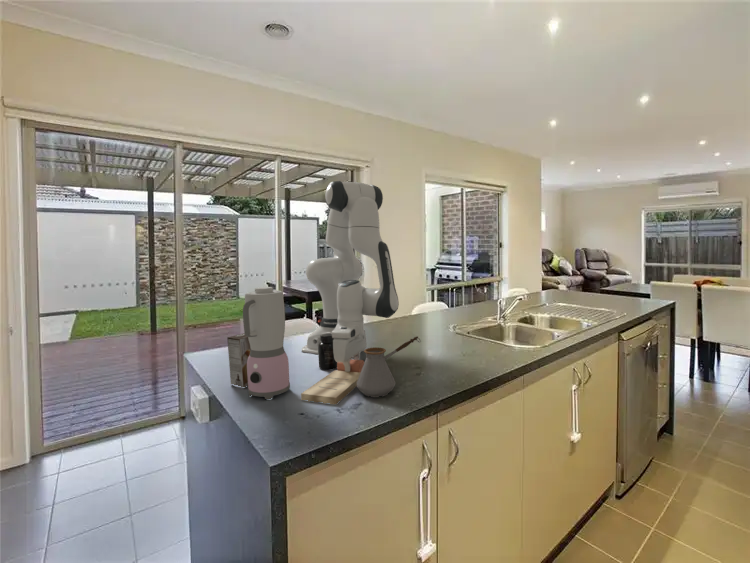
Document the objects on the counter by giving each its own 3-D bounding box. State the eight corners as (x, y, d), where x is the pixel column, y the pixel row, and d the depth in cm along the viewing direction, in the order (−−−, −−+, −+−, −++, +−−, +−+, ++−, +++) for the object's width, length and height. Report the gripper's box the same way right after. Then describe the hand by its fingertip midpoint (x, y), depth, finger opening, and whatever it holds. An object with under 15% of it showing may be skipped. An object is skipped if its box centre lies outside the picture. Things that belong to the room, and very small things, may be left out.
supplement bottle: (340, 365, 146) (339, 333, 144) (333, 371, 139) (331, 337, 138) (324, 364, 148) (322, 332, 147) (315, 369, 141) (314, 336, 140)
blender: (265, 384, 128) (260, 285, 125) (298, 387, 124) (293, 285, 121) (231, 402, 113) (224, 291, 110) (267, 407, 109) (260, 291, 106)
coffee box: (252, 377, 135) (249, 331, 133) (265, 380, 131) (263, 332, 130) (229, 386, 127) (226, 336, 125) (243, 389, 124) (240, 338, 122)
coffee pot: (367, 403, 110) (365, 350, 109) (350, 390, 120) (348, 341, 119) (430, 388, 120) (429, 339, 118) (410, 377, 130) (409, 332, 129)
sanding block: (337, 376, 134) (337, 363, 134) (342, 371, 139) (342, 358, 139) (359, 377, 132) (359, 364, 132) (364, 372, 137) (364, 360, 136)
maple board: (301, 400, 113) (300, 393, 113) (334, 375, 134) (334, 370, 134) (336, 404, 109) (335, 397, 109) (365, 378, 130) (365, 372, 130)
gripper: (354, 322, 145) (355, 359, 146) (329, 333, 126) (330, 376, 127) (370, 323, 143) (371, 360, 144) (347, 334, 124) (348, 378, 125)
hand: (352, 368), depth 135 cm, fingers open, 5 cm apart
